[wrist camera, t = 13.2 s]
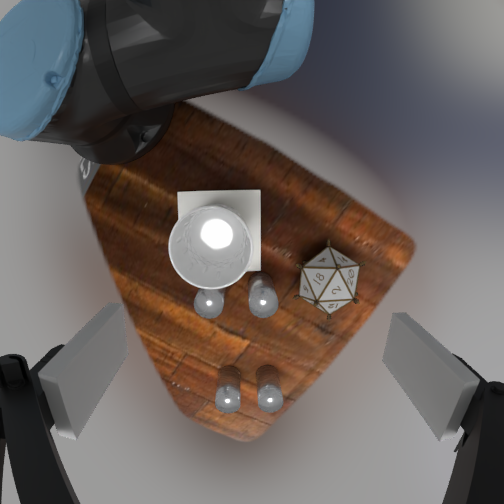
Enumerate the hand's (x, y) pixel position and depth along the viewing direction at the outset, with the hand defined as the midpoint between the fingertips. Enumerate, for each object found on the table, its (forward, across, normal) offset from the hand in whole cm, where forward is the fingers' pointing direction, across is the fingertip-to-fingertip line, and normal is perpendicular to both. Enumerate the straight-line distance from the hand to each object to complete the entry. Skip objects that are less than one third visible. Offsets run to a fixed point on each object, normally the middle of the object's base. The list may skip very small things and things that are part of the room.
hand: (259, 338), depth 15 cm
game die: (+27, +10, -4) cm, 29 cm away
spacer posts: (+27, 0, -13) cm, 30 cm away
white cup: (+26, -4, +1) cm, 26 cm away
